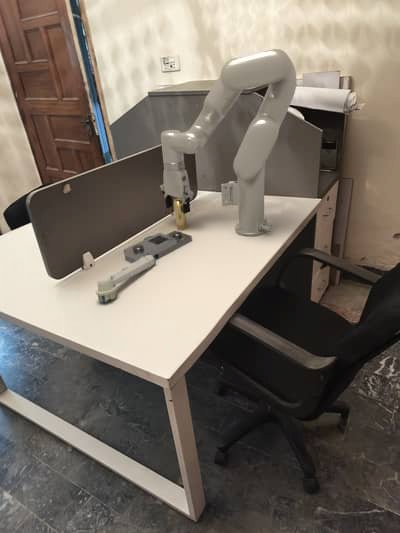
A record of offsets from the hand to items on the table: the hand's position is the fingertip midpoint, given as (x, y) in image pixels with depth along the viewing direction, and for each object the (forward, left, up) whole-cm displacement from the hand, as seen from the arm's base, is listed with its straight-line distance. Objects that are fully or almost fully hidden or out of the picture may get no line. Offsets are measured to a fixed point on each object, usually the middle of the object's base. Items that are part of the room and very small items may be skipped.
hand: (178, 209), depth 143 cm
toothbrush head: (-16, +38, -8) cm, 42 cm away
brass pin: (-1, 0, -8) cm, 8 cm away
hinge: (-4, -33, -8) cm, 34 cm away
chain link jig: (-8, +18, -8) cm, 21 cm away
